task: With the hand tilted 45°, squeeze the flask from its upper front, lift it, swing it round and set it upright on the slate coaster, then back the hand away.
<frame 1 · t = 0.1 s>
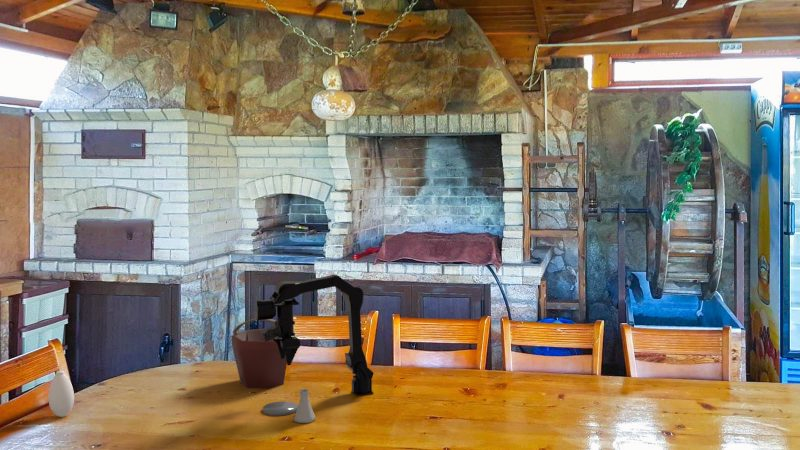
hand: (285, 361, 264), 15 cm above the table, tool pointing down, fingers open, 9 cm apart
slate coaster: (280, 409, 257), on the table
bucket: (263, 383, 289), on the table
flask: (304, 420, 247), on the table
grey teardrop piece: (62, 416, 253), on the table
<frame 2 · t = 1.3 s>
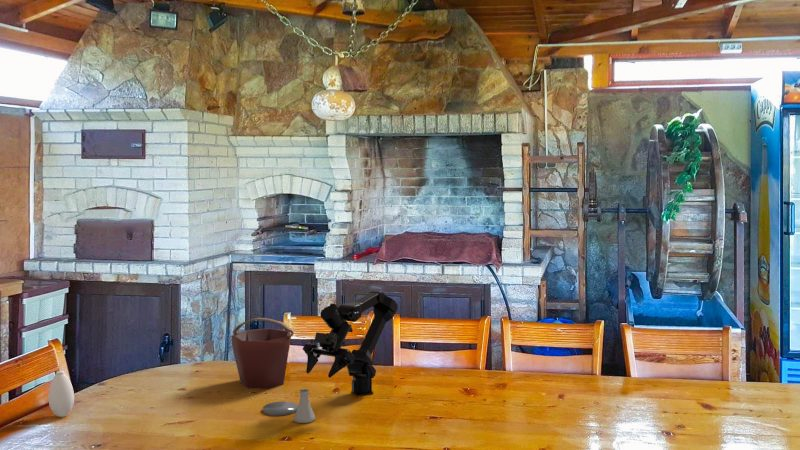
hand: (317, 374, 252), 13 cm above the table, tool tilted 45°, fingers open, 9 cm apart
nothing on the table moved.
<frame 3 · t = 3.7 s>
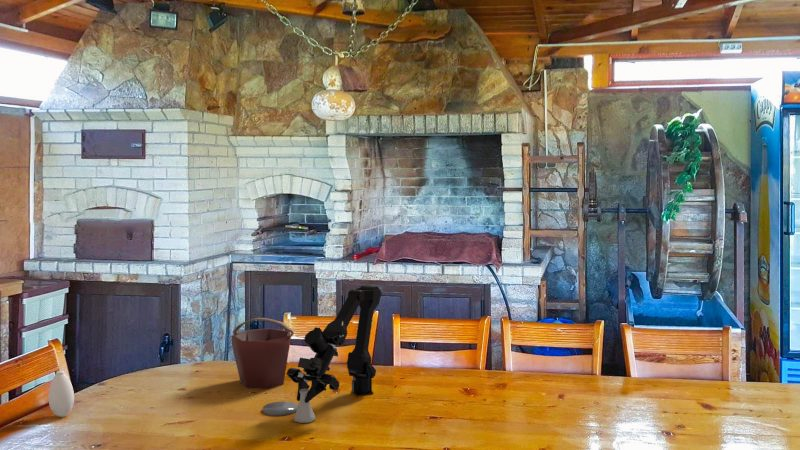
hand: (301, 401, 245), 7 cm above the table, tool tilted 45°, fingers closed on flask, 3 cm apart
flask: (304, 420, 247), on the table, touching gripper
everything else where it was.
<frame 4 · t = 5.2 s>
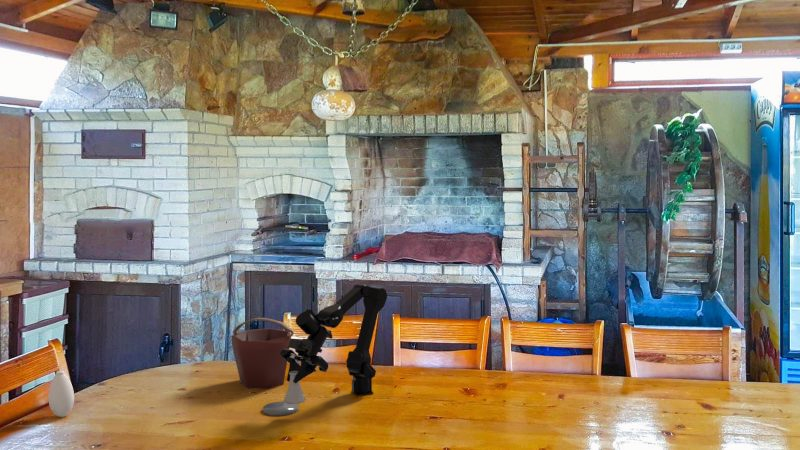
hand: (291, 381, 248), 12 cm above the table, tool tilted 45°, fingers closed on flask, 3 cm apart
flask: (294, 402, 250), point 5 cm above the table, touching gripper
everything else where it was.
when the fingers open (9 cm above the table, at t = 6.9 s): flask stays where it is, resting on slate coaster.
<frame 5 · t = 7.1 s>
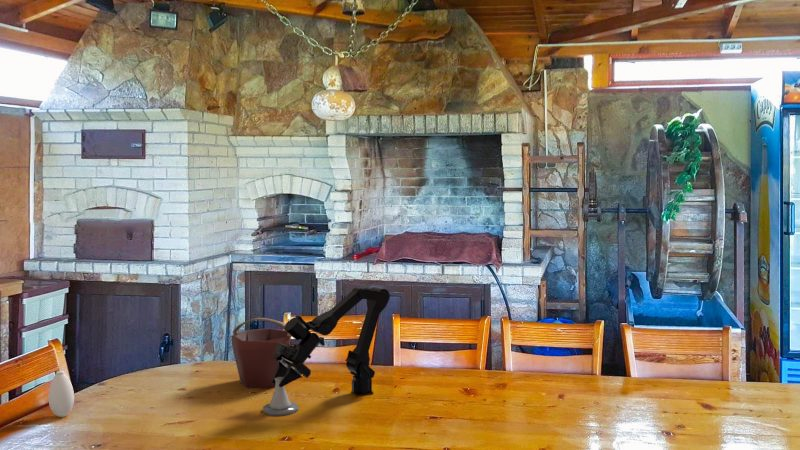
hand: (276, 384, 256), 9 cm above the table, tool tilted 45°, fingers open, 5 cm apart
flask: (280, 407, 257), point 1 cm above the table, touching slate coaster
everything else where it was.
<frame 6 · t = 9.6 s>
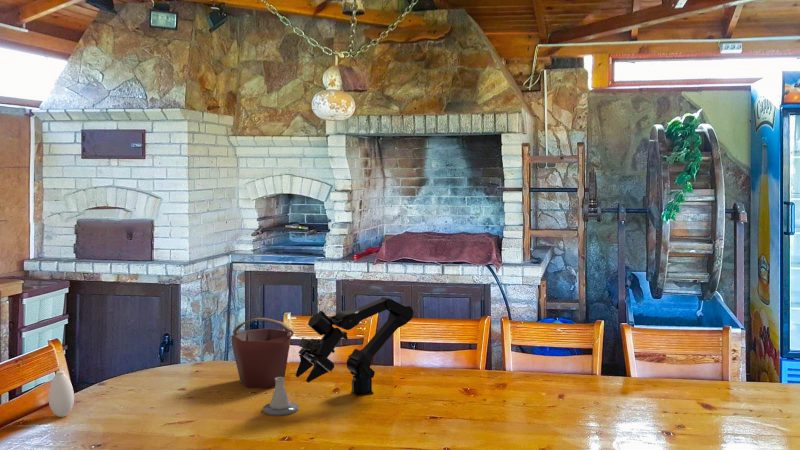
hand: (301, 379, 261), 9 cm above the table, tool tilted 45°, fingers open, 9 cm apart
nothing on the table moved.
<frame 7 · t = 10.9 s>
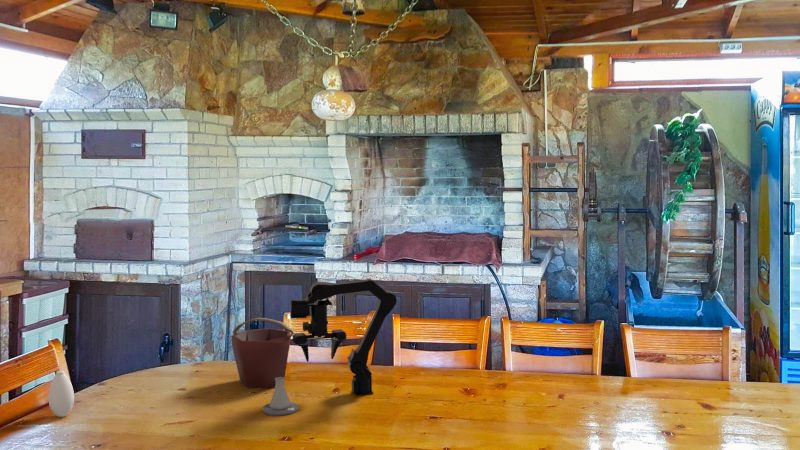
hand: (319, 360, 272), 13 cm above the table, tool pointing down, fingers open, 9 cm apart
nothing on the table moved.
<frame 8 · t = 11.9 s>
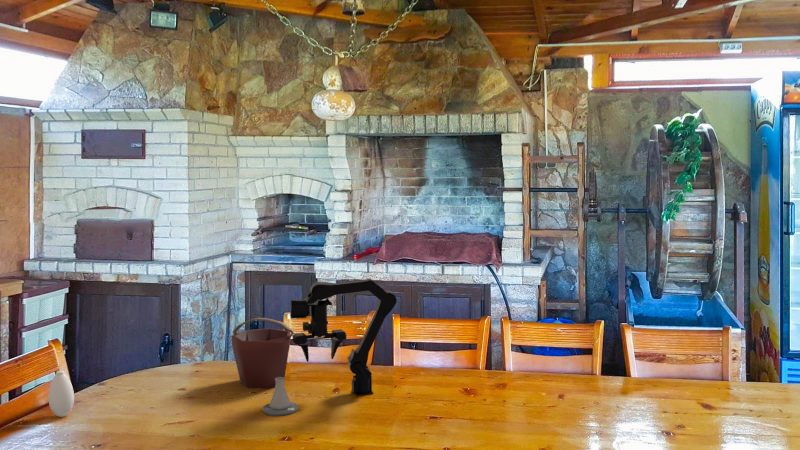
hand: (319, 360, 272), 13 cm above the table, tool pointing down, fingers open, 9 cm apart
nothing on the table moved.
at the end: flask 0.2 cm off-centre on the slate coaster, point 0.8 cm above the slate coaster's base; flask tilted 0°; the gripper is holding nothing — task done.
